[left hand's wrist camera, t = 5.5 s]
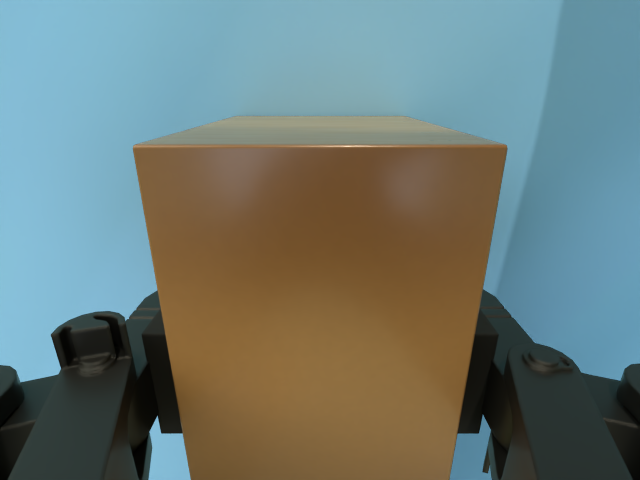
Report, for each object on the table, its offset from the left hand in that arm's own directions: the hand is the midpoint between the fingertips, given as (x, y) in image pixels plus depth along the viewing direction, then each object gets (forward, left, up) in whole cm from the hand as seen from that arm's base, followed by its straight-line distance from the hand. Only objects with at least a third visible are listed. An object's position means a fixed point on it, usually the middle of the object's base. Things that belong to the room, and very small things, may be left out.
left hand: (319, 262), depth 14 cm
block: (+16, -28, 0) cm, 32 cm away
